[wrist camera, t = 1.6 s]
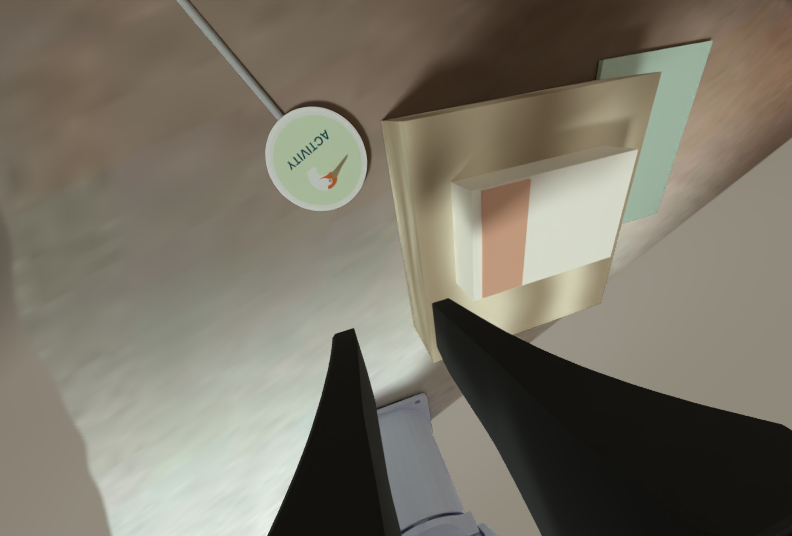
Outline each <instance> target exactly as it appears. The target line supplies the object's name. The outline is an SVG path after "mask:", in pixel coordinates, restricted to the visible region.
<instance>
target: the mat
mask: <svg viewBox="0 0 792 536" xmlns="http://www.w3.org/2000/svg"><path fill="white" fill-rule="evenodd" d="M712 42H713V40H712V41H707V42H701V43H695V44H690V45H684V46H678V47H673V48H667V49H661V50H656V51H650V52H644V53H639V54H633V55H628V56H622V57H616V58H611V59H605V60H600V61H599V65H598V71H597V76H596V80H600V79H608V78H615V77H623V76H631V75H638V74H646V73H653V72H661V71H662V73H661V77H660V80H659V84H658V88H657V92H656V96H655V99H654V103H653V107H652V111H651V115H650V118H649V122H648V126H647V130H646V133H645V137H644V141H643V145H642V149H641V152H640V156H639V160H638V164H637V168H636V171H635V175H634V179H633V183H632V187H631V190H630V194H629V198H628V202H627V205H626V209H625V213H624V217H623V221H622V224H623V223H626V222H630V221H633V220H636V219H640V218H643V217H646V216H649V215H653V214H656V213H657V212H658V209H659V206H660V202H661V199H662V196H663V193H664V190H665V187H666V184H667V181H668V178H669V175H670V172H671V169H672V165H673V162H674V159H675V156H676V153H677V150H678V147H679V144H680V141H681V138H682V135H683V132H684V128H685V125H686V122H687V119H688V116H689V113H690V110H691V107H692V104H693V101H694V98H695V95H696V91H697V88H698V85H699V82H700V79H701V76H702V73H703V70H704V67H705V64H706V61H707V58H708V55H709V51H710V48H711V45H712Z"/></svg>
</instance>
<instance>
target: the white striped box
mask: <svg viewBox="0 0 792 536" xmlns="http://www.w3.org/2000/svg"><path fill="white" fill-rule="evenodd" d="M637 152H638V149H631V148H620V147H609V146H598V147H594V148H590V149H586V150H582V151H578V152H573V153H569V154H565V155H561V156H557V157H553V158H549V159H544V160H540V161H536V162H532V163H528V164H524V165H520V166H515V167H511V168H507V169H503V170H499V171H495V172H490V173H486V174H482V175H478V176H474V177H470V178H466V179H461V180H457V181H453V182H451V199H452V216H453V234H454V251H455V269H456V283H457V284H458V285H459V286H460V288H461V289H462V290H463V291H464V292H465V293H466V294H467V295H468V296H469V297H470V298H471V299H472V300H473V301H477V300H480V299H483V298H486V297H489V296H492V295H495V294H498V293H501V292H504V291H507V290H510V289H514V288H517V287H520V286H523V285H526V284H529V283H532V282H535V281H538V280H541V279H544V278H547V277H550V276H553V275H556V274H560V273H563V272H566V271H569V270H572V269H575V268H578V267H581V266H584V265H587V264H590V263H593V262H596V261H599V260H603V259H606V258H609V257H611V253H612V249H613V245H614V241H615V237H616V234H617V230H618V226H619V222H620V218H621V214H622V210H623V207H624V203H625V199H626V195H627V191H628V187H629V183H630V180H631V176H632V172H633V168H634V164H635V160H636V156H637Z"/></svg>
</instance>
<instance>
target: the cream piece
mask: <svg viewBox="0 0 792 536" xmlns="http://www.w3.org/2000/svg"><path fill="white" fill-rule="evenodd" d="M661 73H662V71H661V72H653V73H646V74H638V75H631V76H623V77H615V78H608V79H600V80H593V81H588V82H582V83H577V84H572V85H567V86H561V87H556V88H551V89H546V90H540V91H535V92H530V93H525V94H520V95H514V96H509V97H504V98H499V99H493V100H488V101H483V102H478V103H472V104H467V105H462V106H457V107H452V108H446V109H441V110H436V111H431V112H425V113H420V114H415V115H410V116H404V117H399V118H394V119H389V120H383V121H381V124H382V130H383V136H384V142H385V149H386V155H387V161H388V167H389V173H390V179H391V186H392V192H393V198H394V204H395V210H396V216H397V223H398V229H399V235H400V241H401V247H402V253H403V260H404V266H405V272H406V278H407V284H408V290H409V297H410V303H411V309H412V315H413V321H414V327H415V329H416V331H417V333H418V334H419V336H420V338H421V340H422V342H423V344H424V345H425V347H426V349H427V351H428V353H429V355H430V356H431V358H432V360H433V362H434V363H436V362H438V361H441V360H443V359H442V357H441V355H440V353H439V351H438V348H437V344H436V335H435V327H434V318H433V309H432V303H434V302H437V301H441V300H444V299H447V298H449V299H451V300H453V301H454V302H456V303H458V304H459V305H461V306H463V307H464V308H466V309H468V310H469V311H471V312H473V313H474V314H476V315H478V316H479V317H481V318H483V319H485V320H486V321H488V322H490V323H492V324H493V325H495V326H497V327H499V328H501V329H502V330H504V331H506V332H508V333H510V334H512V335H514V334H517V333H519V332H522V331H525V330H528V329H530V328H533V327H536V326H539V325H542V324H544V323H547V322H550V321H553V320H556V319H558V318H561V317H564V316H567V315H569V314H572V313H575V312H578V311H581V310H584V309H586V308H589V307H592V306H595V305H598V304H600V303H601V300H602V296H603V293H604V288H605V285H606V281H607V277H608V274H609V270H610V266H611V262H612V259H613V255H614V251H615V247H616V243H617V240H618V236H619V232H620V228H621V224H622V221H623V217H624V213H625V209H626V205H627V202H628V198H629V194H630V190H631V187H632V183H633V179H634V175H635V171H636V168H637V164H638V160H639V156H640V152H641V149H642V145H643V141H644V137H645V133H646V130H647V126H648V122H649V118H650V115H651V111H652V107H653V103H654V99H655V96H656V92H657V88H658V84H659V80H660V77H661ZM598 146H609V147H620V148H631V149H638V152H637V156H636V160H635V164H634V168H633V172H632V176H631V180H630V183H629V187H628V191H627V195H626V199H625V203H624V207H623V210H622V214H621V218H620V222H619V226H618V230H617V234H616V237H615V241H614V245H613V249H612V253H611V257H609V258H606V259H603V260H599V261H596V262H593V263H590V264H587V265H584V266H581V267H578V268H575V269H572V270H569V271H566V272H563V273H560V274H556V275H553V276H550V277H547V278H544V279H541V280H538V281H535V282H532V283H529V284H526V285H523V286H520V287H517V288H514V289H510V290H507V291H504V292H501V293H498V294H495V295H492V296H489V297H486V298H483V299H480V300H477V301H473V300H472V299H471V298H470V297H469V296H468V295H467V294H466V293H465V292H464V291H463V290H462V289H461V288H460V286H459V285H458V284H457V283H456V269H455V251H454V234H453V216H452V199H451V182H453V181H457V180H461V179H466V178H470V177H474V176H478V175H482V174H486V173H490V172H495V171H499V170H503V169H507V168H511V167H515V166H520V165H524V164H528V163H532V162H536V161H540V160H544V159H549V158H553V157H557V156H561V155H565V154H569V153H573V152H578V151H582V150H586V149H590V148H594V147H598Z"/></svg>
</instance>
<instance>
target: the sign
mask: <svg viewBox="0 0 792 536" xmlns="http://www.w3.org/2000/svg"><path fill="white" fill-rule="evenodd" d="M177 2H178V3H179V4H180V5H181V6H182V7H183V9H184V10H185V11H186V12H187V13H188V15H189V16H190V17H191V18H192V19H193V20H194V22H195V23H196V24H197V25H198V26H199V28H200V29H201V30H202V31H203V32H204V33H205V35H206V36H207V37H208V38H209V39H210V41H211V42H212V43H213V44H214V45H215V46H216V48H217V49H218V50H219V51H220V52H221V54H222V55H223V56H224V57H225V58H226V59H227V61H228V62H229V63H230V64H231V65H232V67H233V68H234V69H235V70H236V71H237V72H238V74H239V75H240V76H241V77H242V78H243V80H244V81H245V82H246V83H247V84H248V85H249V87H250V88H251V89H252V90H253V91H254V93H255V94H256V95H257V96H258V97H259V98H260V100H261V101H262V102H263V103H264V104H265V105H266V107H267V108H268V109H269V110H270V111H271V113H272V114H273V115H274V116H275V117H276V118H277V120H278V122H277V123H276V124H275V125H274V127H273V128H272V130H271V132H270V134H269V137H268V140H267V144H266V164H267V168H268V172H269V175H270V177H271V179H272V181H273V183H274V184H275V186H276V187H277V189H278V190H279V191H280V192H281V193H282V194H283V195H284V196H285V197H286V198H287V199H288V200H290V201H291V202H293V203H294V204H296V205H298V206H300V207H303V208H306V209H309V210H315V211H327V210H332V209H336V208H339V207H341V206H343V205H345V204H346V203H348V202H349V201H350V200H351V199H353V198H354V197H355V195H356V194H357V193H358V192H359V190H360V189H361V187H362V185H363V182H364V180H365V176H366V172H367V155H366V150H365V147H364V144H363V141H362V139H361V137H360V135H359V134H358V132H357V131H356V129H355V128H354V127H353V126H352V125H351V124H350V123H349V122H348V121H347V120H346V119H345V118H344V117H342V116H341V115H339V114H337V113H336V112H334V111H331V110H329V109H325V108H321V107H302V108H298V109H295V110H293V111H291V112H289V113H287V114H286V115H283V114H282V113H281V111H280V110H279V109H278V108H277V107H276V105H275V104H274V103H273V102H272V101H271V99H270V98H269V97H268V96H267V95H266V93H265V92H264V91H263V90H262V88H261V87H260V86H259V85H258V84H257V82H256V81H255V80H254V79H253V78H252V76H251V75H250V74H249V73H248V72H247V70H246V69H245V68H244V67H243V66H242V64H241V63H240V62H239V61H238V60H237V58H236V57H235V56H234V55H233V54H232V52H231V51H230V50H229V49H228V48H227V46H226V45H225V44H224V43H223V42H222V40H221V39H220V38H219V37H218V36H217V34H216V33H215V32H214V31H213V30H212V28H211V27H210V26H209V25H208V23H207V22H206V21H205V20H204V19H203V17H202V16H201V15H200V14H199V13H198V11H197V10H196V9H195V8H194V7H193V5H192V4H191V3H190V2H189V1H188V0H177Z"/></svg>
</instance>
